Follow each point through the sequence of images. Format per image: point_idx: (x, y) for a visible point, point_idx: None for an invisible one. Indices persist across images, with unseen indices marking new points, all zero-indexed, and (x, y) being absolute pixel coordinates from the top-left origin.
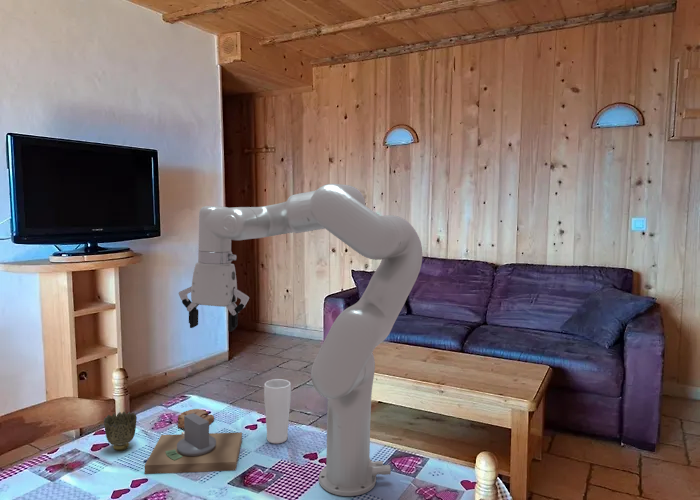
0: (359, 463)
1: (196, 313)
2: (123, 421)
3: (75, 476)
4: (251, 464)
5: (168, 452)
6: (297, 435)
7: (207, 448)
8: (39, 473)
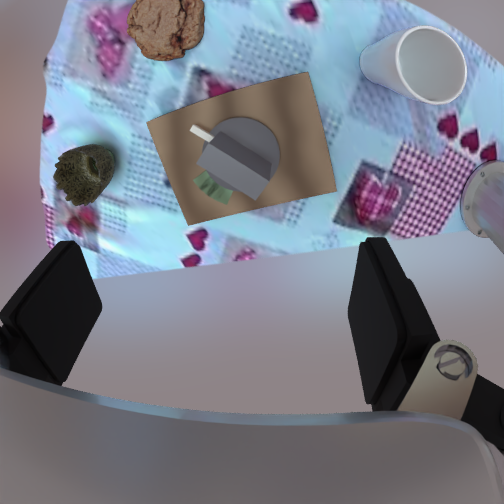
0: None
1: (46, 331)
2: (74, 151)
3: (111, 240)
4: (356, 163)
5: (201, 184)
6: None
7: (272, 172)
8: None
